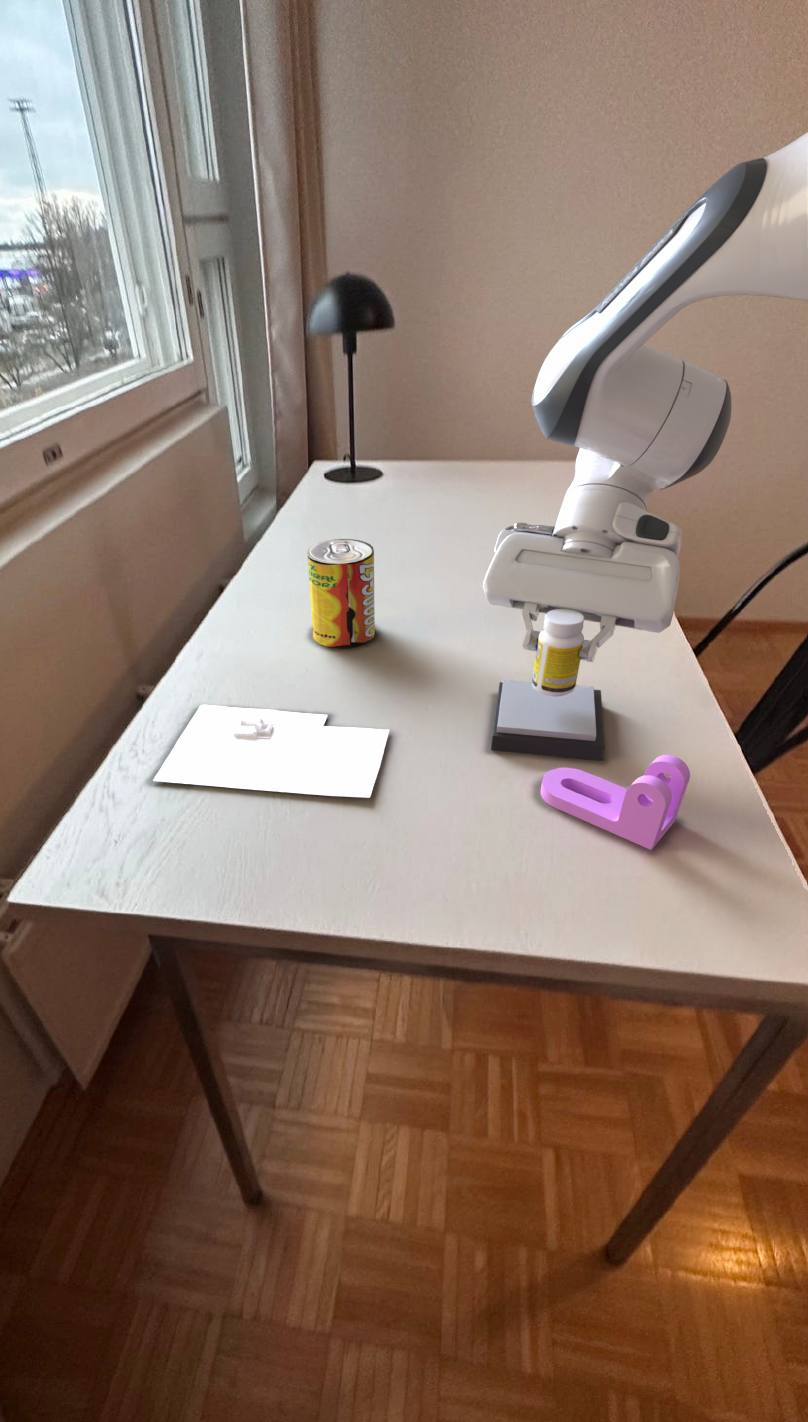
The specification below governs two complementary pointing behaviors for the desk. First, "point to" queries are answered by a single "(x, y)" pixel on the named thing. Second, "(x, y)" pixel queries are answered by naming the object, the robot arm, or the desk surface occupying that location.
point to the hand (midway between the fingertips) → (557, 654)
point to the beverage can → (342, 592)
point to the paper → (275, 753)
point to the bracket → (622, 799)
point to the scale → (548, 722)
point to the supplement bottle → (558, 653)
